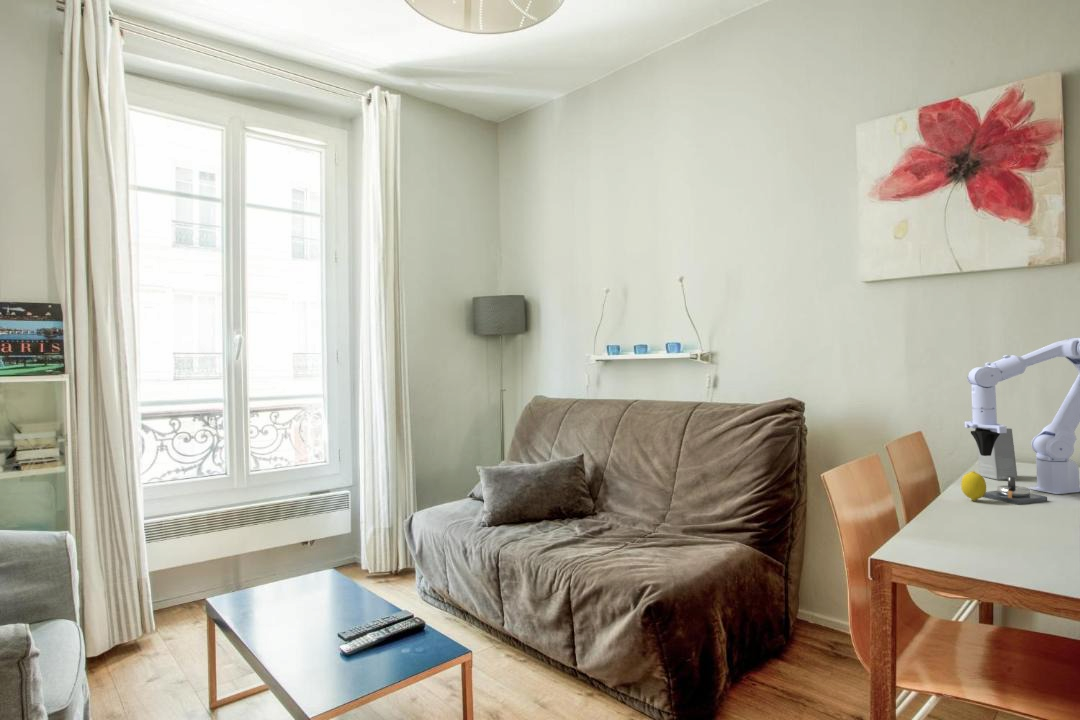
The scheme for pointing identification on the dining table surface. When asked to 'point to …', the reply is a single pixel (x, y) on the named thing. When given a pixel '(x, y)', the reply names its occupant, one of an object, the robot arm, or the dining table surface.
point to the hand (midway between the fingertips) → (985, 455)
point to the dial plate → (1015, 498)
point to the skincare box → (999, 459)
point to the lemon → (973, 485)
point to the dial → (1013, 489)
